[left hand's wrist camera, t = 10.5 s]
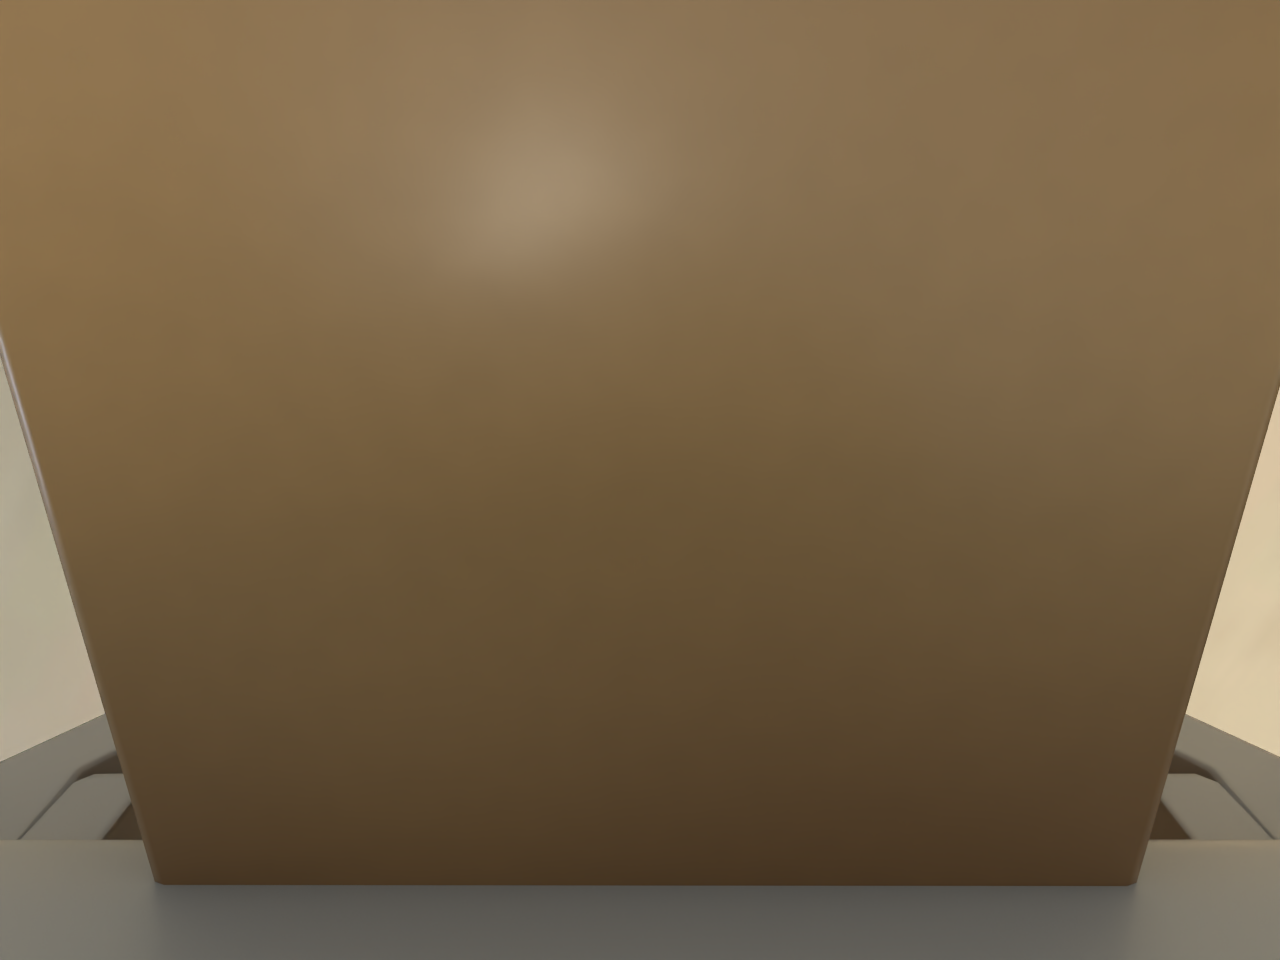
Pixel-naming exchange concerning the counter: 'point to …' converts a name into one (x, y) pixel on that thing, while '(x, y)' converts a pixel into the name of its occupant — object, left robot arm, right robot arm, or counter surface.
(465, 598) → the bar
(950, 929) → the left robot arm
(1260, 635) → the counter surface
